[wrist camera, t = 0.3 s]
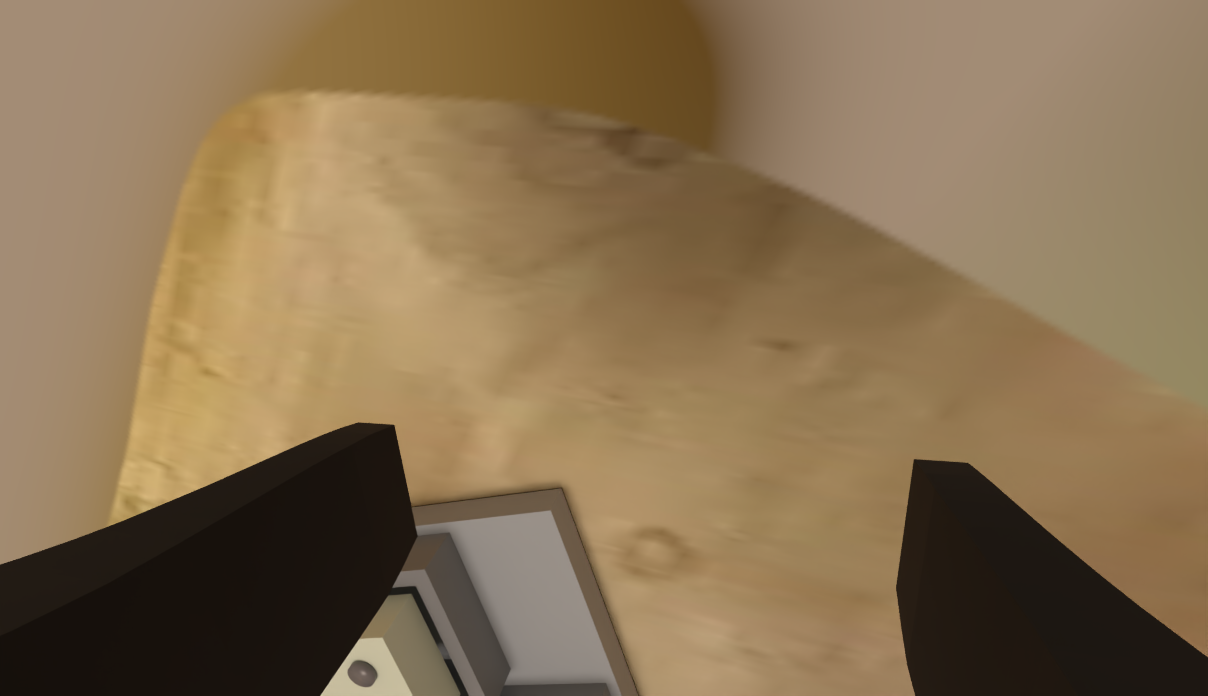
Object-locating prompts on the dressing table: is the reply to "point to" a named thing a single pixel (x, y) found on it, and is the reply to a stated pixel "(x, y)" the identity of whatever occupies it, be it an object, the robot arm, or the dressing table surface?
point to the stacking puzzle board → (513, 598)
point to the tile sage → (394, 657)
